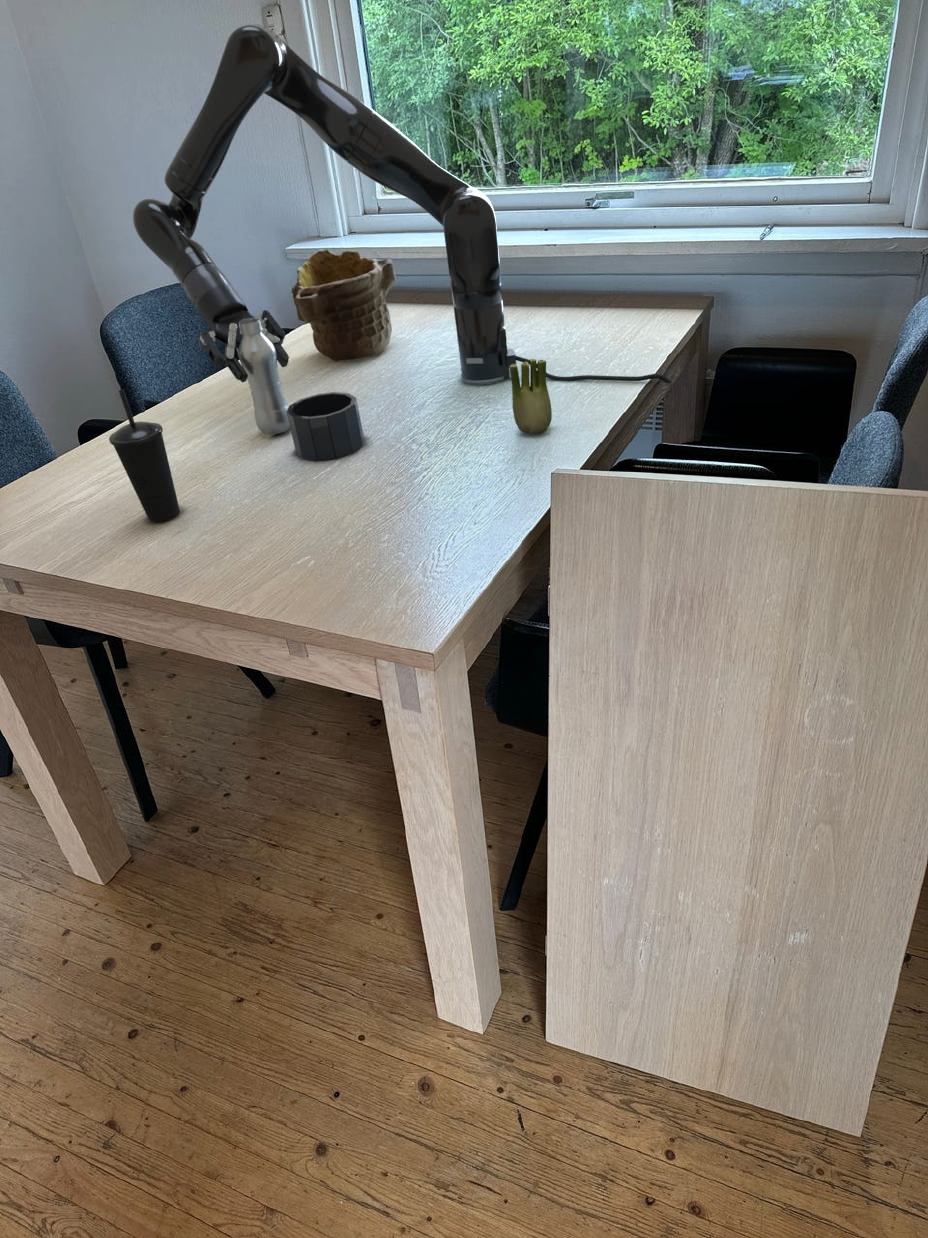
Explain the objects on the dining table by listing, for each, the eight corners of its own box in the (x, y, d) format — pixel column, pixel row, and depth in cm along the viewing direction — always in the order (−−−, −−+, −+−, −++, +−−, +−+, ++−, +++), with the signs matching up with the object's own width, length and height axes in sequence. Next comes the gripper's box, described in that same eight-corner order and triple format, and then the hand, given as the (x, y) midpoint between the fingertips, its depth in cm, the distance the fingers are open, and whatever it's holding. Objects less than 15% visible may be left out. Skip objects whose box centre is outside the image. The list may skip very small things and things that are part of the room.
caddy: (366, 429, 155) (358, 388, 151) (360, 456, 146) (352, 413, 141) (302, 437, 156) (292, 396, 152) (292, 464, 146) (282, 421, 142)
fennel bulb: (513, 436, 145) (506, 365, 138) (522, 424, 148) (516, 355, 142) (546, 437, 143) (541, 365, 136) (555, 426, 146) (550, 355, 140)
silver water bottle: (287, 438, 156) (260, 325, 145) (253, 439, 158) (223, 327, 147) (300, 423, 161) (274, 314, 150) (266, 425, 163) (238, 316, 152)
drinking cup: (145, 507, 138) (101, 385, 127) (192, 501, 138) (153, 378, 127) (134, 530, 132) (87, 403, 121) (184, 523, 132) (141, 395, 121)
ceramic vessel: (400, 329, 175) (309, 231, 169) (332, 402, 190) (245, 314, 183) (437, 296, 192) (355, 205, 186) (371, 365, 207) (294, 283, 201)
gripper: (181, 294, 146) (235, 371, 145) (253, 273, 154) (304, 346, 153) (176, 322, 153) (227, 397, 152) (244, 300, 160) (294, 371, 159)
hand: (266, 371), depth 152 cm, fingers open, 8 cm apart
